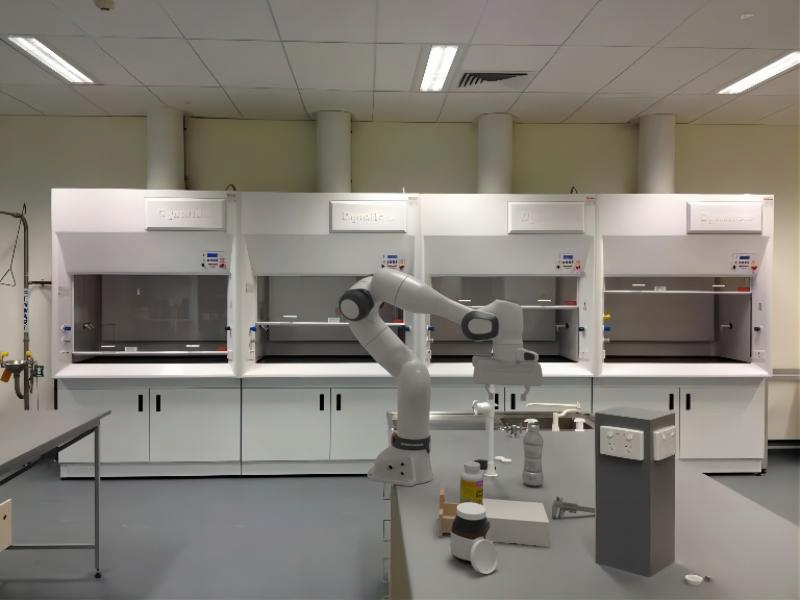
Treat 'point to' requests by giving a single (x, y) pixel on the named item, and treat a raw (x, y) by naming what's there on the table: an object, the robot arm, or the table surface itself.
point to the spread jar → (473, 538)
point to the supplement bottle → (471, 483)
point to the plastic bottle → (533, 456)
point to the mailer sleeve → (517, 522)
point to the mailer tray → (446, 514)
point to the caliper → (568, 507)
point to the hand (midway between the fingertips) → (507, 399)
